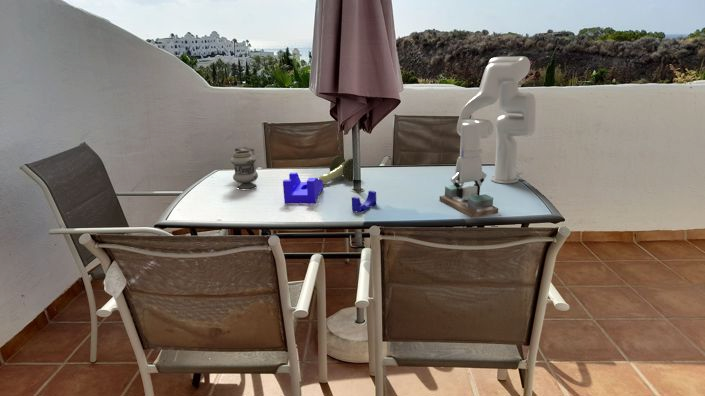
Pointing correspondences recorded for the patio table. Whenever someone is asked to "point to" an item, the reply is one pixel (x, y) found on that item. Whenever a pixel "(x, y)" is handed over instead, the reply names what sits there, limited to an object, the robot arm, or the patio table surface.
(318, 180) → the bracket
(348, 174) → the cannon
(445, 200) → the board
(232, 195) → the patio table surface
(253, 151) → the grey brown jug
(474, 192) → the small box
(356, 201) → the blue u-shaped piece
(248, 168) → the apothecary jar
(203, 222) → the patio table surface
